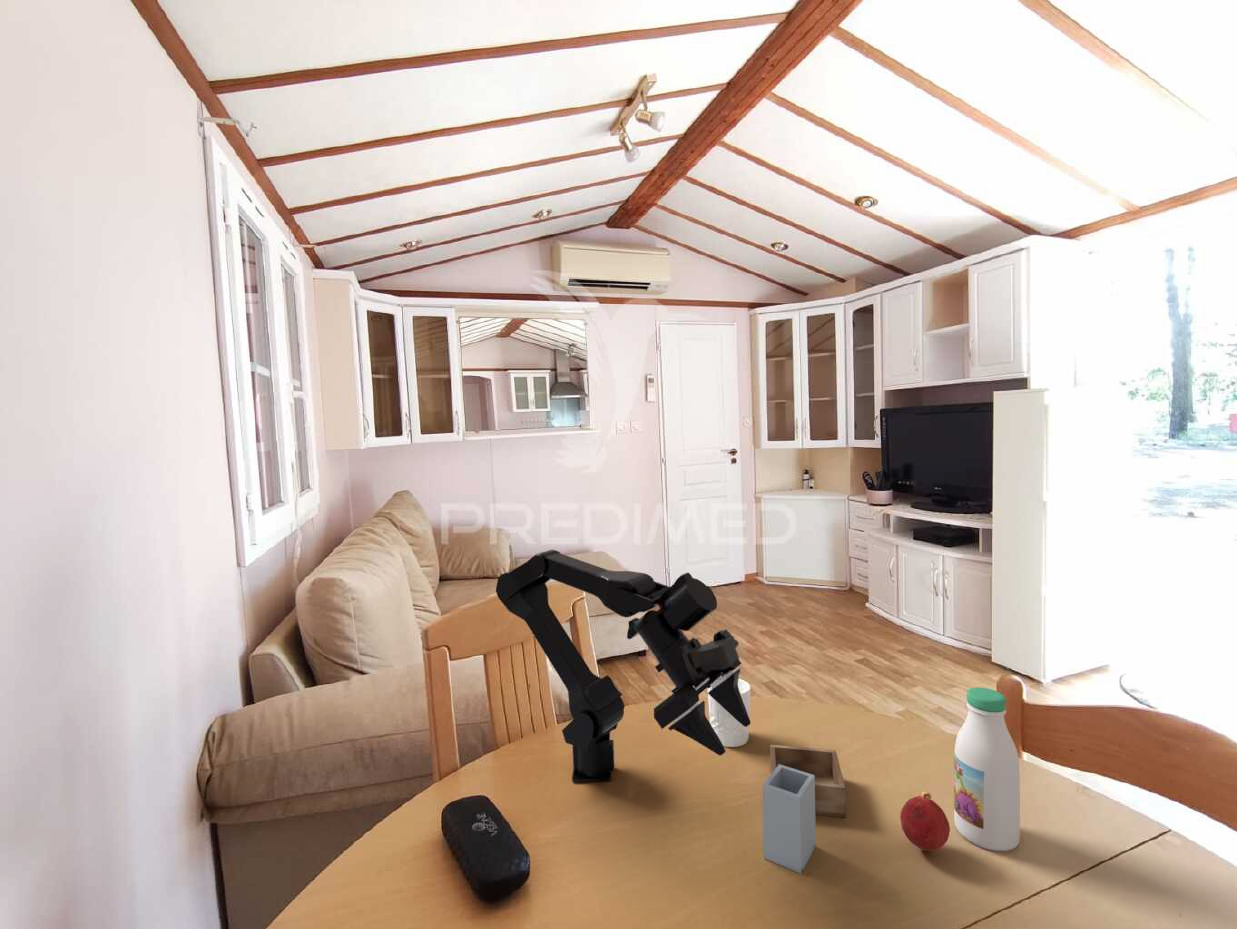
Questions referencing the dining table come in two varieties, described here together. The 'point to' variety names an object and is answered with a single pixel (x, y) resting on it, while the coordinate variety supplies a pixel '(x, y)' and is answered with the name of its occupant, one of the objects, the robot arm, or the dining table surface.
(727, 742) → the white cup
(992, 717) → the milk bottle
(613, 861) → the dining table surface
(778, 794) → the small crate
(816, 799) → the big crate
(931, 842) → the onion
